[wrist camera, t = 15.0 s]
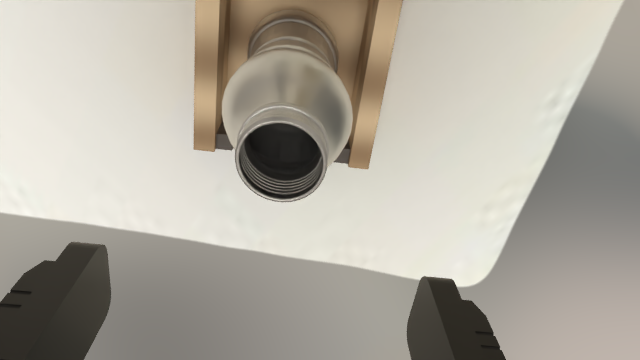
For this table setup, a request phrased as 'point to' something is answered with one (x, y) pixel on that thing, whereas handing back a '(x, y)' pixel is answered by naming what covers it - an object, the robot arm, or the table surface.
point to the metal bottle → (287, 107)
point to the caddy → (353, 69)
